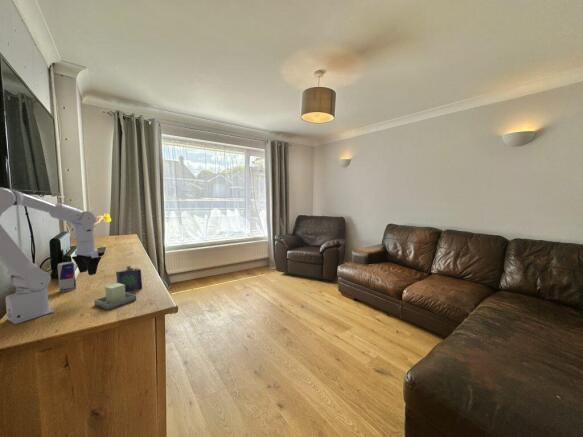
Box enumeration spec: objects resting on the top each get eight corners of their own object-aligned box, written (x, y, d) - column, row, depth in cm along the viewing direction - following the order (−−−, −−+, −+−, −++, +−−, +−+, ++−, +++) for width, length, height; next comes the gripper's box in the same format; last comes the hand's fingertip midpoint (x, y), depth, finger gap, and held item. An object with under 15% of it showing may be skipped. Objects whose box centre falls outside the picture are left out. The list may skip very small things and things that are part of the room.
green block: (112, 304, 88) (111, 288, 88) (106, 302, 90) (105, 286, 90) (125, 299, 92) (124, 284, 92) (119, 297, 94) (118, 282, 94)
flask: (116, 292, 101) (114, 267, 101) (119, 290, 104) (117, 266, 103) (141, 289, 104) (140, 265, 104) (143, 287, 107) (141, 264, 106)
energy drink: (72, 290, 104) (70, 263, 103) (57, 292, 102) (54, 265, 101) (78, 286, 109) (76, 261, 108) (63, 288, 107) (61, 262, 106)
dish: (108, 310, 85) (107, 304, 85) (94, 305, 89) (94, 300, 89) (136, 300, 93) (136, 295, 93) (122, 295, 98) (122, 291, 98)
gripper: (105, 240, 97) (108, 272, 98) (88, 238, 104) (90, 268, 105) (84, 243, 91) (87, 277, 92) (67, 240, 98) (70, 273, 99)
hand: (87, 273), depth 98 cm, fingers open, 7 cm apart
